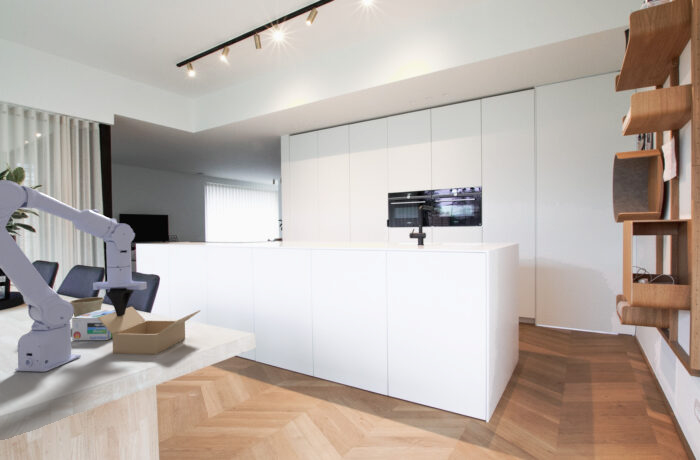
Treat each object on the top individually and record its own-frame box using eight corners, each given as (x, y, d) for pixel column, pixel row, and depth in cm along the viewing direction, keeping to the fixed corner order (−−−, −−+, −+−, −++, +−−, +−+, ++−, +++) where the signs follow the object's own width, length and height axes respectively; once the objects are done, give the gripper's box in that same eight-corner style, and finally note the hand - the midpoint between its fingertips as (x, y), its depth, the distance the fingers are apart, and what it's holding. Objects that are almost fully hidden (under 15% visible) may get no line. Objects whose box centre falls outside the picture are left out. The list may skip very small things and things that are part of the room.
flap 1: (98, 317, 92) (97, 318, 92) (113, 333, 92) (112, 333, 92) (132, 306, 105) (131, 307, 105) (145, 320, 104) (144, 321, 104)
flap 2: (157, 333, 91) (157, 334, 91) (174, 321, 90) (175, 322, 90) (184, 320, 103) (185, 321, 103) (200, 310, 103) (200, 310, 103)
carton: (156, 354, 91) (155, 334, 91) (112, 353, 92) (112, 333, 92) (185, 338, 104) (184, 320, 103) (146, 337, 105) (146, 320, 105)
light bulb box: (131, 309, 113) (107, 317, 102) (131, 330, 113) (107, 340, 102) (98, 309, 113) (70, 317, 102) (98, 330, 113) (70, 341, 102)
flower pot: (62, 328, 116) (61, 302, 115) (91, 321, 125) (90, 296, 124) (83, 330, 113) (83, 303, 113) (111, 322, 122) (110, 297, 122)
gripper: (153, 264, 102) (154, 311, 102) (106, 265, 103) (108, 311, 103) (135, 267, 95) (137, 318, 95) (86, 268, 96) (87, 318, 96)
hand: (120, 315), depth 99 cm, fingers closed, pressing on flap 1
